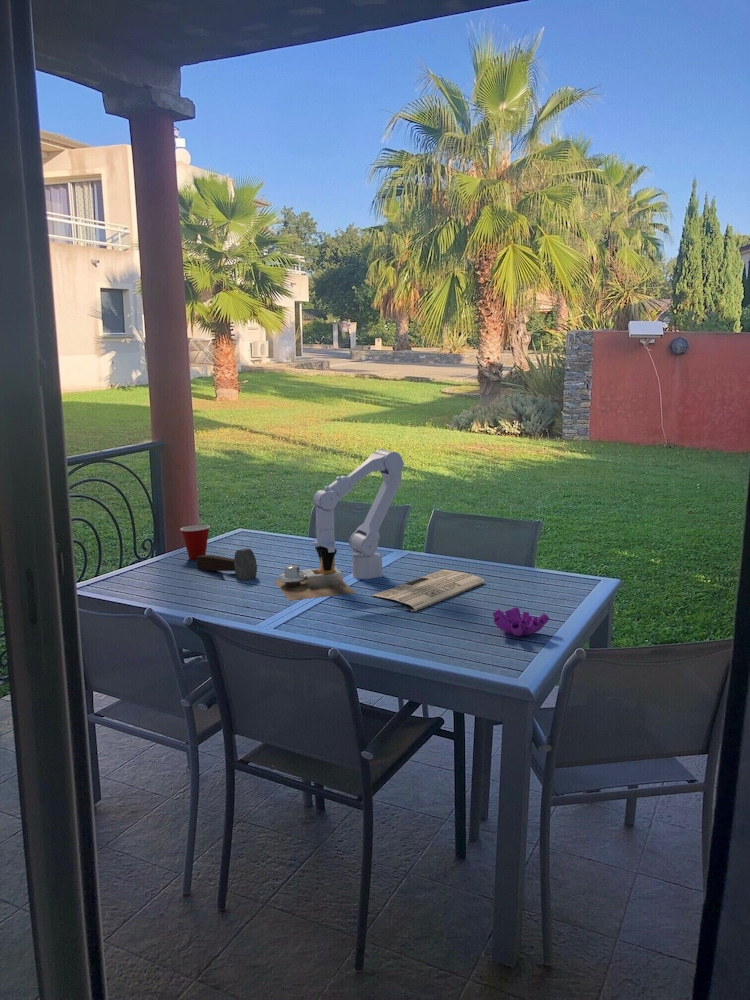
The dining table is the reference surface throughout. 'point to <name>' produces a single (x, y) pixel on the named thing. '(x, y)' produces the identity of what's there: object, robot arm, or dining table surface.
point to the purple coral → (518, 622)
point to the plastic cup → (195, 540)
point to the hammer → (231, 564)
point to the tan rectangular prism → (323, 568)
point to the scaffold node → (309, 577)
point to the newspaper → (431, 588)
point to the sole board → (313, 590)
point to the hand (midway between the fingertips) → (326, 569)
